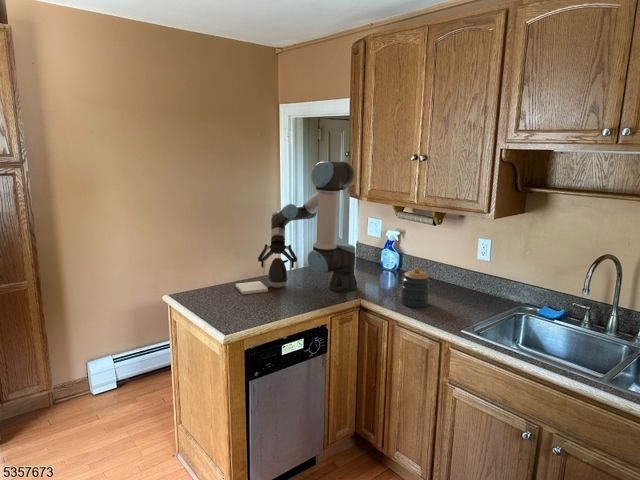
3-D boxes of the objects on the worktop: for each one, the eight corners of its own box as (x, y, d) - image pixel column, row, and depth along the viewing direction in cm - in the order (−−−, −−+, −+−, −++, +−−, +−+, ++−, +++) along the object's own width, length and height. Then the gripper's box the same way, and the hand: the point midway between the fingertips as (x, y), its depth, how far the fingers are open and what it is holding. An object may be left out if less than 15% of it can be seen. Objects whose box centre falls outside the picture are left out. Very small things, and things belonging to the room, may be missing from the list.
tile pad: (268, 291, 220) (268, 288, 220) (242, 294, 215) (242, 291, 215) (260, 283, 232) (260, 281, 232) (235, 286, 226) (235, 283, 226)
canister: (411, 309, 202) (414, 272, 198) (394, 300, 214) (397, 265, 210) (433, 306, 208) (437, 270, 204) (416, 297, 219) (419, 263, 215)
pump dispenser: (286, 289, 224) (287, 260, 221) (266, 288, 224) (266, 259, 221) (288, 283, 234) (289, 255, 231) (269, 282, 234) (269, 254, 231)
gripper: (300, 242, 242) (301, 276, 231) (254, 241, 240) (253, 276, 229) (301, 234, 236) (302, 269, 225) (254, 233, 234) (252, 269, 222)
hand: (277, 272), depth 227 cm, fingers open, 13 cm apart
